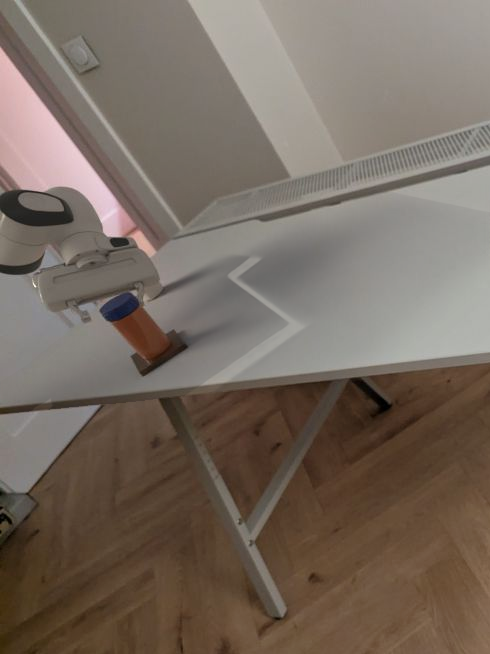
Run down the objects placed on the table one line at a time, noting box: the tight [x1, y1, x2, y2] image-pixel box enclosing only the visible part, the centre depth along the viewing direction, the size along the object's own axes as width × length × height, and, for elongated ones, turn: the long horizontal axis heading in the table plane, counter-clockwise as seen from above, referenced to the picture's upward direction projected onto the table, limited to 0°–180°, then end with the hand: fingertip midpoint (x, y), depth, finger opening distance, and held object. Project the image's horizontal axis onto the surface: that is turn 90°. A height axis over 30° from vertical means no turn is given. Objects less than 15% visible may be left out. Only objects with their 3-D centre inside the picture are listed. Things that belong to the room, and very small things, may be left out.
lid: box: [99, 291, 139, 323], centre depth 96 cm, size 6×6×2 cm
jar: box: [109, 303, 171, 360], centre depth 98 cm, size 6×6×11 cm
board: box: [130, 328, 188, 377], centre depth 102 cm, size 9×9×1 cm
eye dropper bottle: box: [143, 281, 164, 302], centre depth 124 cm, size 4×6×12 cm
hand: (114, 313), depth 105 cm, fingers open, 8 cm apart
